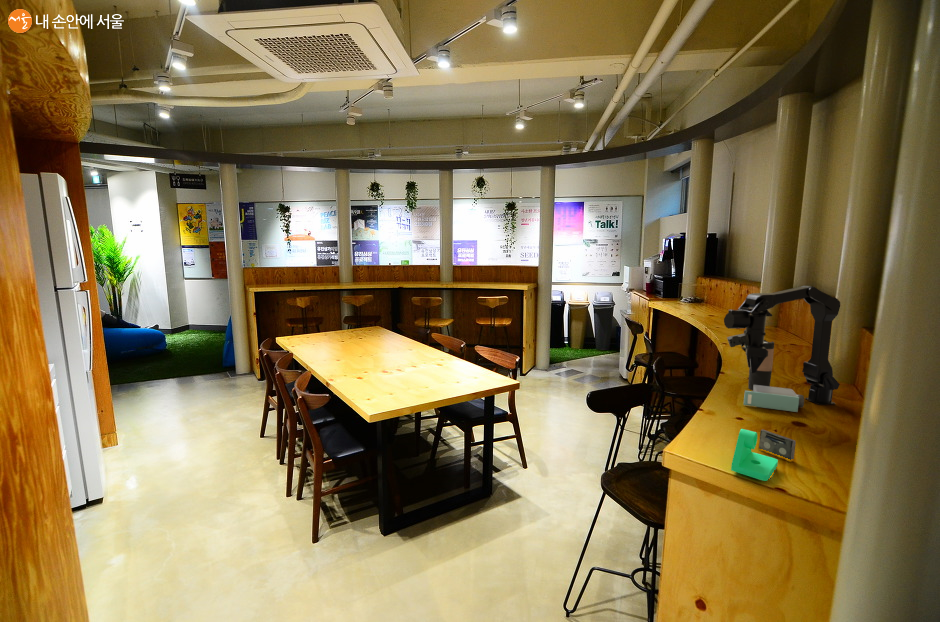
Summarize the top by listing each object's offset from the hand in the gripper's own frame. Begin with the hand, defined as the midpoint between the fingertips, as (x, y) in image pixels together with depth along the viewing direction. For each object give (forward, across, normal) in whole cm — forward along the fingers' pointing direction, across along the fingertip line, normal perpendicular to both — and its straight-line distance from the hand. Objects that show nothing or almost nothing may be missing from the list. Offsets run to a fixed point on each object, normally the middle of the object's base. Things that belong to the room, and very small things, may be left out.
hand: (751, 370), depth 161 cm
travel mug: (+13, -21, +6) cm, 25 cm away
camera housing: (+13, -1, +9) cm, 16 cm away
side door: (+12, +5, +6) cm, 14 cm away
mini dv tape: (+13, +47, +1) cm, 48 cm away
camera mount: (+13, +59, -6) cm, 61 cm away
